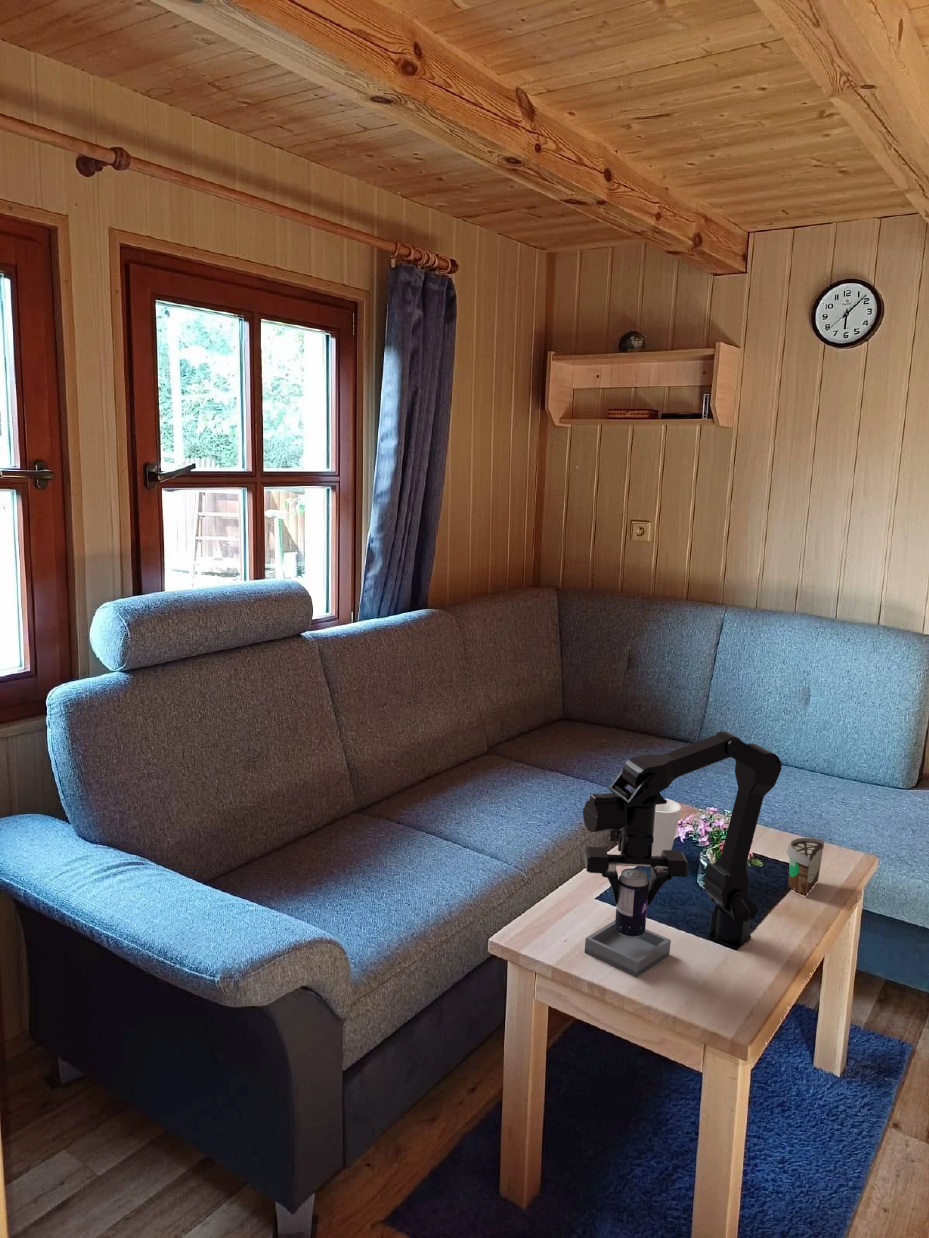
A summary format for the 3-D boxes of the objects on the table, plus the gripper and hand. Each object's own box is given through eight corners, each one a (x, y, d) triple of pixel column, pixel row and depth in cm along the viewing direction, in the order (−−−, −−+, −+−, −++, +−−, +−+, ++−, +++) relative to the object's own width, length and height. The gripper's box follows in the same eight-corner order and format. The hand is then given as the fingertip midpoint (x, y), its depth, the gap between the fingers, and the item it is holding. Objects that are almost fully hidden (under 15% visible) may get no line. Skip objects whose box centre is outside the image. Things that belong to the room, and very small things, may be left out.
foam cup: (629, 857, 218) (633, 805, 216) (644, 844, 226) (649, 794, 224) (667, 868, 213) (672, 815, 211) (682, 855, 221) (687, 803, 218)
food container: (792, 872, 215) (797, 832, 213) (819, 880, 211) (824, 839, 209) (775, 891, 205) (780, 849, 203) (803, 900, 201) (809, 857, 199)
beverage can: (644, 942, 172) (649, 882, 170) (613, 937, 174) (618, 878, 171) (645, 927, 178) (650, 869, 176) (615, 923, 179) (619, 865, 177)
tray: (669, 954, 177) (670, 939, 176) (636, 977, 168) (638, 962, 168) (618, 931, 184) (619, 917, 184) (584, 952, 176) (585, 937, 175)
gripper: (679, 811, 180) (672, 885, 182) (583, 807, 180) (578, 881, 183) (692, 834, 169) (685, 913, 172) (590, 830, 169) (584, 909, 172)
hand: (632, 903), depth 175 cm, fingers closed on beverage can, 6 cm apart
